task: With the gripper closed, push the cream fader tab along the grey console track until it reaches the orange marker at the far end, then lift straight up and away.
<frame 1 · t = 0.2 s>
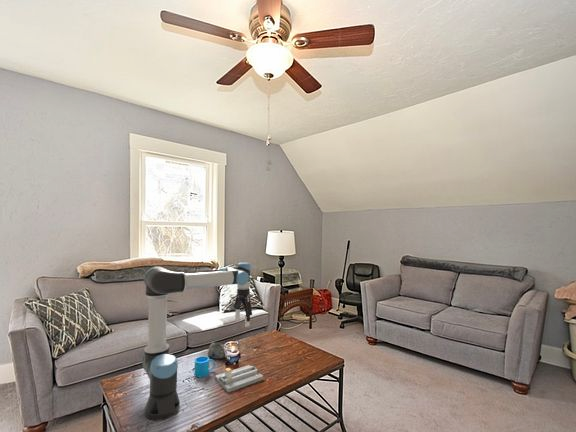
hand: (242, 323, 176), 28 cm above the table, fingers open, 13 cm apart
console: (239, 379, 163), on the table
mineral rock: (217, 358, 188), on the table
mug: (204, 373, 170), on the table
fader tab: (228, 374, 159), point 5 cm above the table, slide at -7.0 cm
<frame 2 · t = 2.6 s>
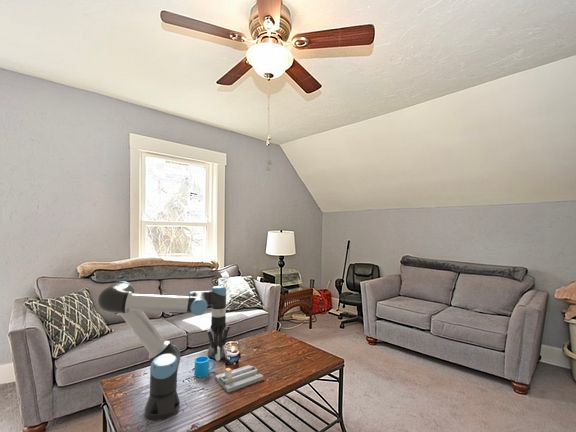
hand: (217, 359, 155), 15 cm above the table, fingers closed
nothing on the table moved.
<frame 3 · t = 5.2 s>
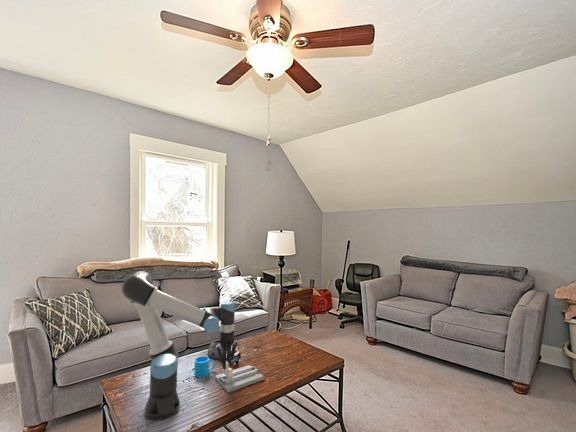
hand: (226, 374, 158), 5 cm above the table, fingers closed
fader tab: (229, 374, 160), point 5 cm above the table, slide at -6.4 cm, touching gripper
everything else where it was.
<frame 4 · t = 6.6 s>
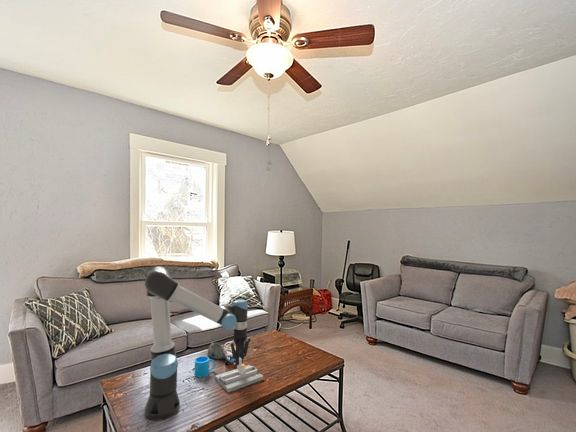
hand: (239, 369, 163), 5 cm above the table, fingers closed
fader tab: (242, 369, 165), point 5 cm above the table, slide at 1.7 cm, touching gripper
everything else where it was.
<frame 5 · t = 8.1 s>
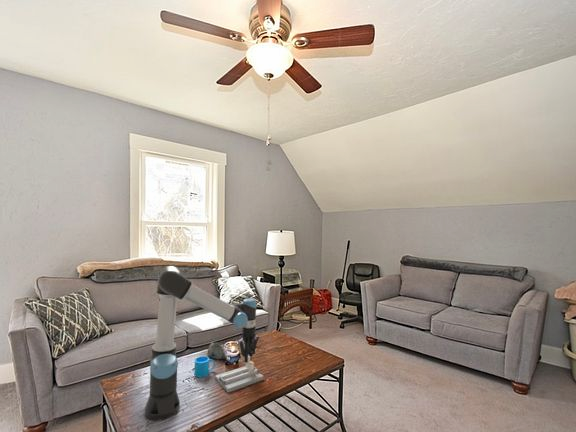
hand: (247, 367, 167), 5 cm above the table, fingers closed
fader tab: (250, 367, 168), point 5 cm above the table, slide at 7.3 cm, touching gripper
everything else where it was.
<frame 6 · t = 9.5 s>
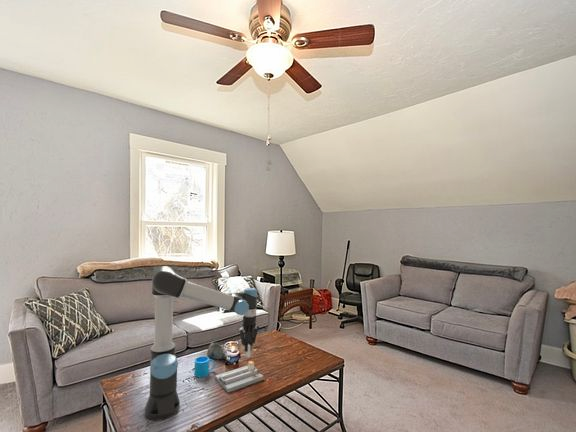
hand: (247, 356, 167), 11 cm above the table, fingers closed
fader tab: (250, 366, 168), point 5 cm above the table, slide at 7.4 cm
everything else where it was.
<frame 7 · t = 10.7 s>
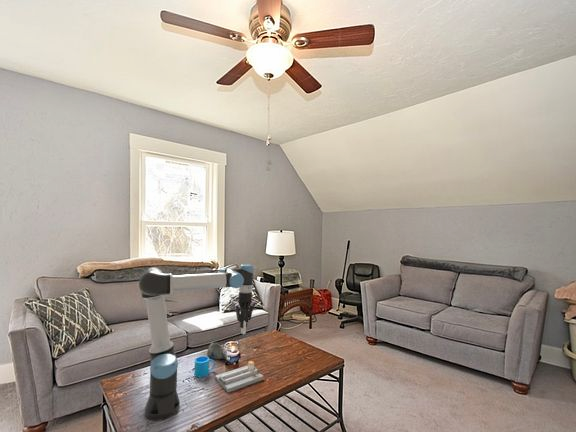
hand: (243, 333, 165), 26 cm above the table, fingers closed
nothing on the table moved.
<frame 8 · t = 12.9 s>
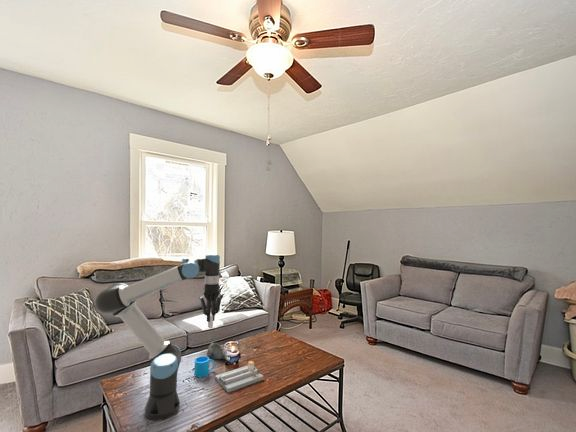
hand: (210, 327, 154), 32 cm above the table, fingers closed
nothing on the table moved.
at the end: fader tab slide at 7.4 cm; fader tab touching nothing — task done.
